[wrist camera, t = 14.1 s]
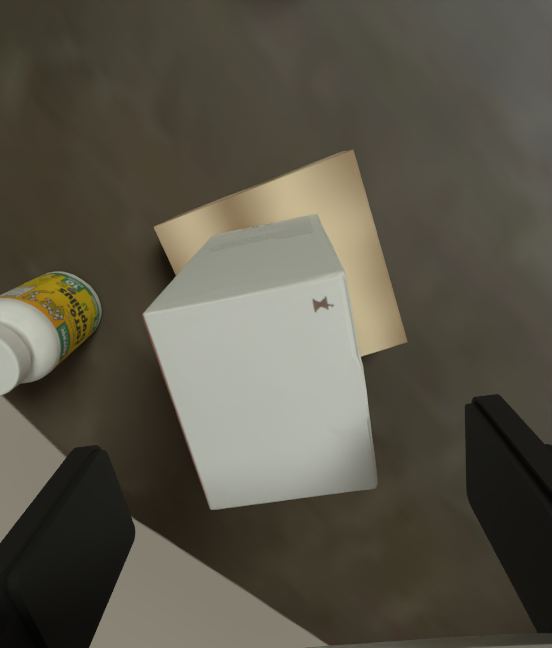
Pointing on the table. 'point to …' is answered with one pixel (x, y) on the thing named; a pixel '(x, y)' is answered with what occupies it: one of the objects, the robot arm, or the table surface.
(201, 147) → the table surface
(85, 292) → the supplement bottle
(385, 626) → the table surface
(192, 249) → the birch block
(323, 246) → the small box
